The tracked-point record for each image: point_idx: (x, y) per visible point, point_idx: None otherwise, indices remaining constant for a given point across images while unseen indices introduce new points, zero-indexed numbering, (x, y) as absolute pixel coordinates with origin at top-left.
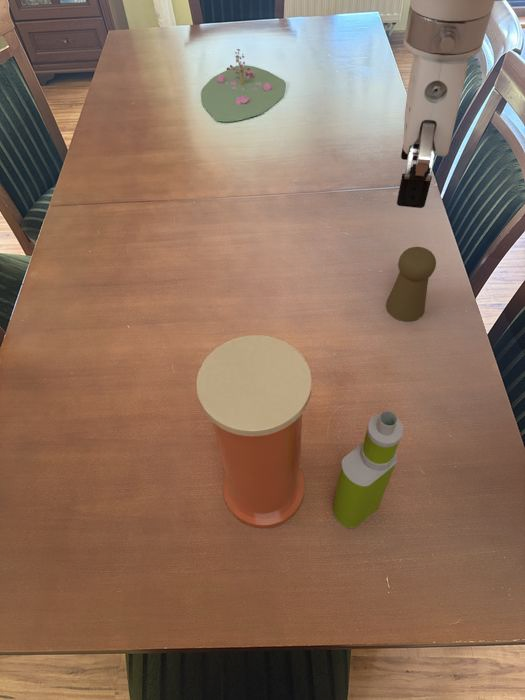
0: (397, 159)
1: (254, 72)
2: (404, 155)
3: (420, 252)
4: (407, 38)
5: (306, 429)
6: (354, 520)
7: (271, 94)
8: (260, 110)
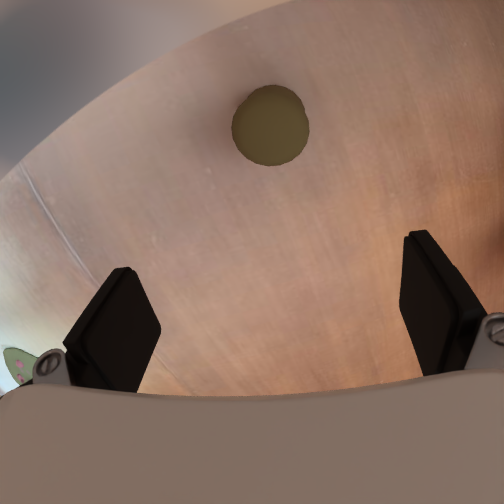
0: (6, 218)
1: (15, 374)
2: (155, 334)
3: (261, 131)
4: None
5: (487, 202)
6: None
7: (22, 359)
8: None
